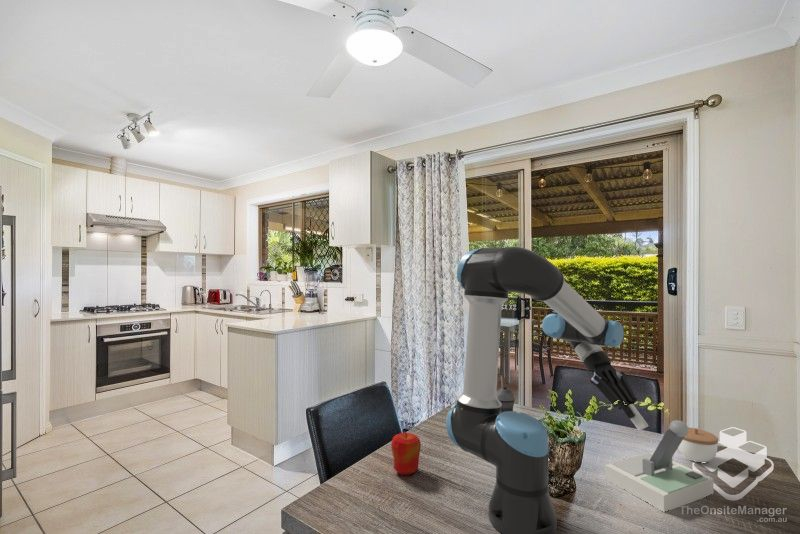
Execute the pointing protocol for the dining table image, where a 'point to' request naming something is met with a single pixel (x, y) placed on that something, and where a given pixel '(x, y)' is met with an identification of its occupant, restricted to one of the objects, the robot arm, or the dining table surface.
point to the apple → (406, 453)
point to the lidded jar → (699, 445)
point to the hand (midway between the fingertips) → (643, 428)
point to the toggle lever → (669, 444)
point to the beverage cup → (505, 398)
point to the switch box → (659, 481)
